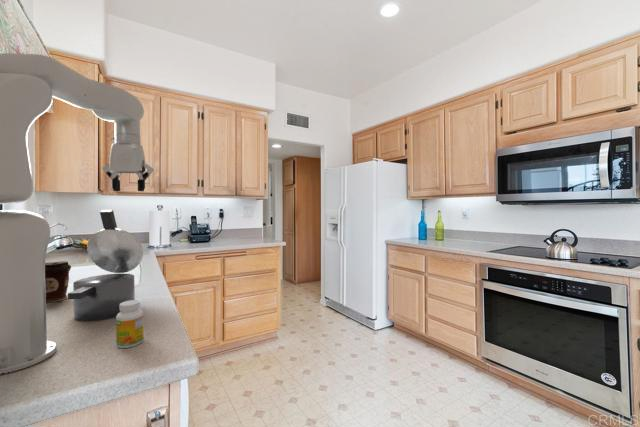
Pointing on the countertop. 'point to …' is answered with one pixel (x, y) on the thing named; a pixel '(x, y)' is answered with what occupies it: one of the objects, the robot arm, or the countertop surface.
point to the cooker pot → (101, 296)
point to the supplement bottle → (129, 324)
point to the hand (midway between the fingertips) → (128, 190)
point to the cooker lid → (114, 247)
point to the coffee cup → (56, 280)
